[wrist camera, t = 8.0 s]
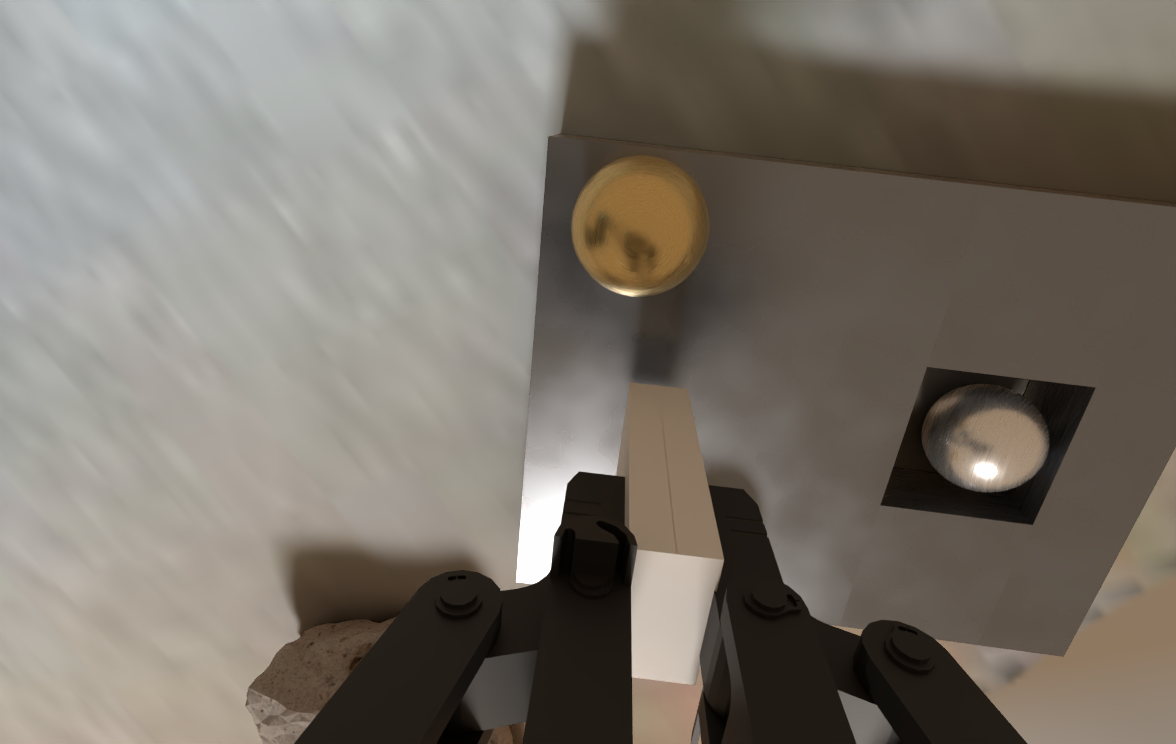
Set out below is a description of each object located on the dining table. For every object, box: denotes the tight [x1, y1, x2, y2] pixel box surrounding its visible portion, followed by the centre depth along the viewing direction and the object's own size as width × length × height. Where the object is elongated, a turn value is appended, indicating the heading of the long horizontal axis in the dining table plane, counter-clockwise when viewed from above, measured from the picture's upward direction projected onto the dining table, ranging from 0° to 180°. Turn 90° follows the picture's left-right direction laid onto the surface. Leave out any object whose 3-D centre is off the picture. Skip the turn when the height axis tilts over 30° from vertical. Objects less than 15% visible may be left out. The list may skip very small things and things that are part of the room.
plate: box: [516, 134, 1176, 657], centre depth 19 cm, size 18×14×2 cm
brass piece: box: [571, 155, 710, 297], centre depth 14 cm, size 3×3×3 cm
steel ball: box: [922, 384, 1050, 492], centre depth 18 cm, size 3×3×3 cm
